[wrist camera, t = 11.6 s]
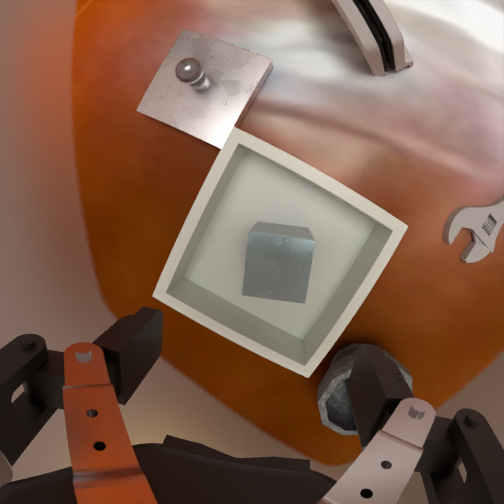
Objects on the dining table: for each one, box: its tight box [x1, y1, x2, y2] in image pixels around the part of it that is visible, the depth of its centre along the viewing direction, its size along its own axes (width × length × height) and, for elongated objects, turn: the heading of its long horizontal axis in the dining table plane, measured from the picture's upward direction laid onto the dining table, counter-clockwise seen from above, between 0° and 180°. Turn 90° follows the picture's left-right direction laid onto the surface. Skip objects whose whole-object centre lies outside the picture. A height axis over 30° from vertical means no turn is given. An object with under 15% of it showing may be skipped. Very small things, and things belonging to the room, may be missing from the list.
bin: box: [152, 126, 408, 378], centre depth 27 cm, size 16×16×6 cm
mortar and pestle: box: [317, 343, 412, 452], centre depth 26 cm, size 11×9×12 cm
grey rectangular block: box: [242, 221, 315, 304], centre depth 26 cm, size 5×5×7 cm
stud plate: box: [136, 29, 273, 149], centre depth 24 cm, size 10×10×7 cm
